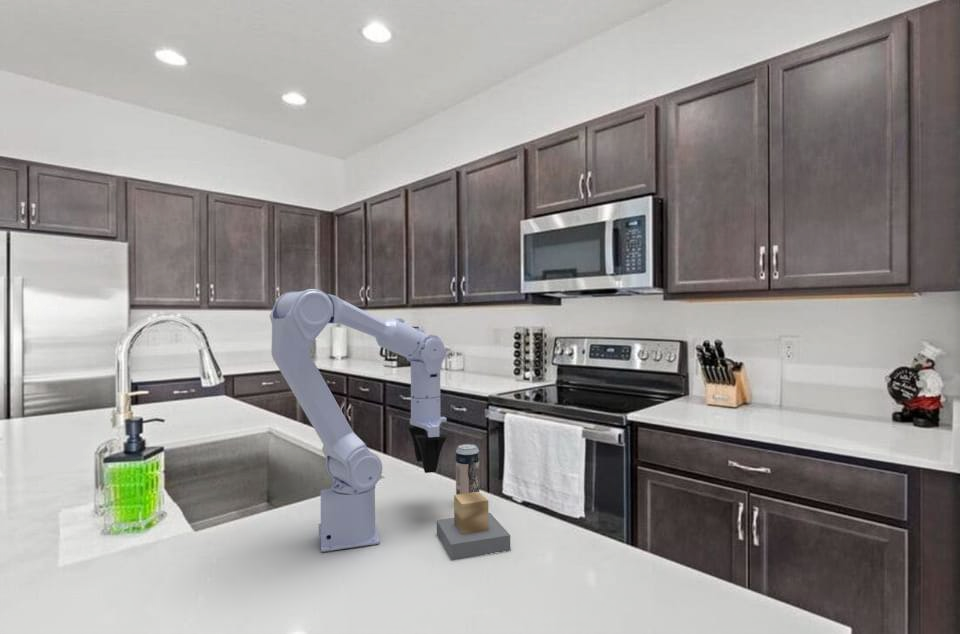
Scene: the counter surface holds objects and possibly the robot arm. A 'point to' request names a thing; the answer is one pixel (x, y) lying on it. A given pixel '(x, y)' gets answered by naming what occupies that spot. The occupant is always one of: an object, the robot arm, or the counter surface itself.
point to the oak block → (471, 512)
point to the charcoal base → (472, 539)
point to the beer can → (467, 469)
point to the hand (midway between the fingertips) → (426, 466)
